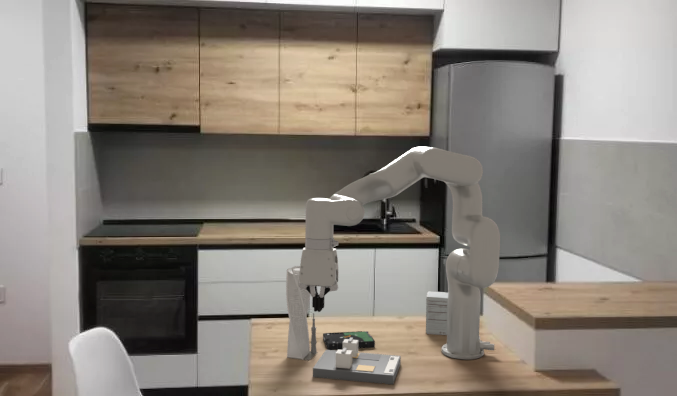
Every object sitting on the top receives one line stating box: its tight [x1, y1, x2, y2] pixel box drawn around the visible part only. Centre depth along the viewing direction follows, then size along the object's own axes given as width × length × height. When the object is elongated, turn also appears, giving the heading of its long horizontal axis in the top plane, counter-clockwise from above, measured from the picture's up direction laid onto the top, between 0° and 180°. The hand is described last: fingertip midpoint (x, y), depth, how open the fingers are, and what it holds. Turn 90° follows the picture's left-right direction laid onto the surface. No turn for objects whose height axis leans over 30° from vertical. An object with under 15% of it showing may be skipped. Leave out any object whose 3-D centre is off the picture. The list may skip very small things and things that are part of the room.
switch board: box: [312, 349, 402, 385], centre depth 182 cm, size 22×15×3 cm
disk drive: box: [322, 330, 376, 351], centre depth 204 cm, size 10×3×15 cm
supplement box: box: [425, 290, 448, 336], centre depth 216 cm, size 7×7×13 cm
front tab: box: [336, 348, 352, 369], centre depth 178 cm, size 4×3×5 cm
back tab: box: [343, 337, 359, 357], centre depth 186 cm, size 4×3×5 cm
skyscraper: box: [285, 265, 319, 361], centre depth 192 cm, size 8×8×28 cm
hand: (318, 310), depth 178 cm, fingers closed
